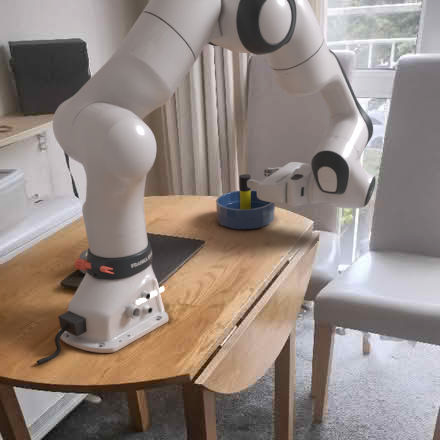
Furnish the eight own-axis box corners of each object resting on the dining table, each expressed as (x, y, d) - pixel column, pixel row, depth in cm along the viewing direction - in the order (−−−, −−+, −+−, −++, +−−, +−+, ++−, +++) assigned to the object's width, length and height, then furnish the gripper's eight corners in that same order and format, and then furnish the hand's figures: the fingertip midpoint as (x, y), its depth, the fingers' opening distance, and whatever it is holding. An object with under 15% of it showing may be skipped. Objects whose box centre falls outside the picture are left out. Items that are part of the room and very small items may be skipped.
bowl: (258, 234, 148) (257, 213, 145) (206, 225, 155) (205, 205, 151) (283, 214, 159) (284, 194, 155) (234, 207, 165) (234, 187, 162)
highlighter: (247, 220, 155) (247, 178, 148) (238, 219, 156) (237, 176, 149) (253, 216, 157) (252, 174, 150) (243, 215, 158) (242, 173, 151)
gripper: (324, 158, 148) (275, 153, 153) (290, 183, 134) (237, 176, 140) (323, 183, 151) (274, 177, 157) (290, 210, 138) (238, 202, 143)
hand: (257, 177), depth 148 cm, fingers open, 8 cm apart
